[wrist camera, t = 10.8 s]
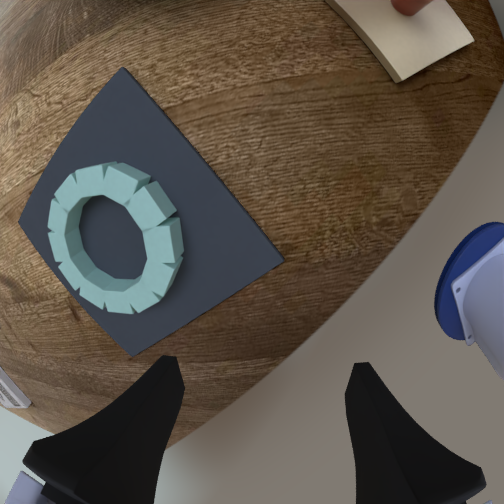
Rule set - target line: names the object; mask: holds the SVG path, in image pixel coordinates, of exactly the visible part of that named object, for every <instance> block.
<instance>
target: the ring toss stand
mask: <svg viewBox="0 0 504 504" xmlns="http://www.w3.org/2000/svg"><path fill="white" fill-rule="evenodd" d="M324 1H326V2H327V3H328V4H329V5H330V6H331V7H332V8H333V9H334V10H335V11H336V12H337V13H338V14H339V15H340V16H341V17H342V18H343V19H344V20H345V21H346V23H347V24H348V25H349V26H350V27H351V28H352V29H353V30H354V31H355V32H356V33H357V35H358V36H359V37H360V38H361V39H362V40H363V42H364V43H365V44H366V45H367V46H368V48H369V49H370V50H371V51H372V52H373V54H374V55H375V56H376V57H377V59H378V60H379V61H380V63H381V64H382V65H383V67H384V68H385V69H386V71H387V72H388V73H389V75H390V76H391V78H392V79H393V80H394V82H395V83H398V82H400V81H403V80H405V79H406V78H408V77H410V76H411V75H413V74H415V73H416V72H418V71H420V70H422V69H423V68H425V67H427V66H429V65H430V64H432V63H434V62H436V61H438V60H439V59H441V58H443V57H445V56H447V55H448V54H450V53H452V52H454V51H456V50H458V49H460V48H462V47H464V46H465V45H467V44H469V43H471V42H473V41H474V39H473V38H472V36H471V34H470V33H469V32H468V30H467V29H466V27H465V26H464V24H463V23H462V22H461V20H460V19H459V17H458V16H457V15H456V13H455V12H454V11H453V10H452V8H451V7H450V6H449V4H448V3H447V2H446V1H445V0H324Z"/></svg>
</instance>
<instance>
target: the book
mask: <svg viewBox="0 0 504 504" xmlns="http://www.w3.org/2000/svg"><path fill="white" fill-rule="evenodd" d="M0 403H1V404H2V405H3V406H4V407H5V408H28V407H29V405H30V404H31V401H30V400H29V399H28V398H27V397H26V396H25V394H24V393H23V392H22V391H21V390H20V389H19V388H18V387H17V386H16V385H15V383H14V382H13V381H12V380H11V379H10V378H9V376H8V375H7V374H6V373H5V372H4V370H3V369H2V368H1V367H0Z"/></svg>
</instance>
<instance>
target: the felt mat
mask: <svg viewBox="0 0 504 504" xmlns="http://www.w3.org/2000/svg"><path fill="white" fill-rule="evenodd" d="M115 161H116V162H117V164H118V163H125V164H128V165H130V166H132V167H134V168H136V169H138V170H140V171H142V172H144V173H146V174H148V175H150V176H151V178H150V180H149V183H148V184H150V183H152V182H154V181H157V182H158V183H159V185H160V186H161V188H162V189H163V191H164V192H165V194H166V195H167V197H168V198H169V199H170V201H171V202H172V204H173V205H174V207H175V208H176V210H177V211H176V212H175V213H173V214H172V215H171V216H169V217H168V218H174V217H179V218H180V225H181V232H182V240H183V247H184V252H183V253H182V254H181V256H182V257H183V260H182V262H181V265H180V267H179V269H178V272H177V274H176V276H175V279H174V281H173V283H172V285H171V286H170V288H169V289H168V291H167V292H166V294H165V296H164V297H162V298H161V300H160V301H159V302H157V303H156V304H154V305H152V306H150V307H148V308H147V309H145V310H143V311H141V312H140V313H138V312H137V311H135V312H134V314H126V313H116V312H108V311H107V308H106V307H105V308H104V309H103V310H102V309H101V308H99V307H97V306H96V305H94V304H93V303H91V302H90V301H88V300H86V299H85V298H83V297H82V296H80V295H79V294H80V287H79V288H78V289H77V290H74V288H73V287H72V286H71V284H70V283H69V282H68V280H67V279H66V278H65V276H64V275H63V273H62V272H61V270H60V269H59V268H58V267H59V265H60V264H61V263H62V262H56V261H55V258H54V255H53V251H52V247H51V244H50V240H49V236H48V233H49V232H51V231H52V230H51V229H49V228H48V220H49V213H50V207H51V201H52V199H54V198H56V197H55V195H54V194H55V192H56V191H57V190H58V189H59V187H60V186H61V185H62V184H63V182H64V181H65V180H66V179H67V177H68V176H69V175H70V174H71V173H75V171H76V170H78V169H82V168H86V167H90V166H94V165H99V164H105V163H110V162H115ZM18 223H19V224H20V226H21V228H22V229H23V231H24V232H25V234H26V235H27V237H28V238H29V240H30V241H31V243H32V244H33V245H34V247H35V248H36V250H37V251H38V252H39V254H40V255H41V257H42V258H43V259H44V261H45V262H46V263H47V265H48V266H49V267H50V269H51V270H52V271H53V272H54V274H55V275H56V276H57V278H58V279H59V280H60V281H61V283H62V284H63V285H64V286H65V287H66V289H67V290H68V291H69V292H70V293H71V295H72V296H73V297H74V298H75V299H76V300H77V301H78V303H79V304H80V305H81V306H82V307H83V308H84V309H85V310H86V311H87V313H88V314H89V315H90V316H91V317H92V318H93V319H94V320H95V321H96V322H97V323H98V324H99V325H100V326H101V327H102V328H103V329H104V330H105V331H106V332H107V333H108V334H109V335H110V336H111V337H112V338H113V339H114V340H115V341H116V342H117V343H118V344H119V345H120V346H121V347H122V348H123V349H124V350H125V351H126V352H127V353H128V354H129V355H130V356H132V357H133V356H135V355H137V354H138V353H140V352H142V351H143V350H145V349H146V348H148V347H150V346H151V345H153V344H155V343H156V342H158V341H160V340H161V339H163V338H164V337H166V336H168V335H169V334H171V333H173V332H174V331H176V330H177V329H179V328H181V327H182V326H184V325H185V324H187V323H189V322H190V321H192V320H193V319H195V318H197V317H198V316H200V315H201V314H203V313H205V312H206V311H208V310H209V309H211V308H213V307H214V306H216V305H217V304H219V303H220V302H222V301H224V300H225V299H227V298H228V297H230V296H231V295H233V294H234V293H236V292H238V291H239V290H241V289H242V288H244V287H245V286H247V285H248V284H250V283H251V282H253V281H254V280H256V279H258V278H259V277H261V276H262V275H264V274H265V273H267V272H268V271H270V270H271V269H273V268H274V267H276V266H277V265H279V264H280V263H282V262H283V261H284V257H283V256H282V255H281V254H280V252H279V251H278V250H277V249H276V247H275V246H274V245H273V244H272V242H271V241H270V240H269V239H268V237H267V236H266V235H265V234H264V232H263V231H262V230H261V229H260V227H259V226H258V225H257V224H256V222H255V221H254V220H253V219H252V217H251V216H250V215H249V214H248V212H247V211H246V210H245V209H244V208H243V206H242V205H241V204H240V203H239V201H238V200H237V199H236V198H235V197H234V195H233V194H232V193H231V192H230V190H229V189H228V188H227V187H226V186H225V184H224V183H223V182H222V181H221V179H220V178H219V177H218V176H217V175H216V173H215V172H214V171H213V170H212V169H211V167H210V166H209V165H208V164H207V163H206V161H205V160H204V159H203V158H202V157H201V155H200V154H199V153H198V152H197V151H196V149H195V148H194V147H193V146H192V145H191V144H190V142H189V141H188V140H187V139H186V138H185V136H184V135H183V134H182V133H181V132H180V131H179V129H178V128H177V127H176V126H175V125H174V123H173V122H172V121H171V120H170V119H169V118H168V116H167V115H166V114H165V113H164V112H163V111H162V109H161V108H160V107H159V106H158V105H157V104H156V103H155V101H154V100H153V99H152V98H151V97H150V96H149V94H148V93H147V92H146V91H145V90H144V89H143V88H142V86H141V85H140V84H139V83H138V82H137V81H136V80H135V78H134V77H133V76H132V75H131V74H130V73H129V72H128V71H127V69H126V68H124V67H121V68H120V70H119V71H118V72H117V73H116V74H115V75H114V76H113V77H112V78H111V79H110V80H109V81H108V83H107V84H106V85H105V86H104V87H103V88H102V89H101V91H100V92H99V93H98V94H97V95H96V97H95V98H94V99H93V100H92V102H91V103H90V104H89V105H88V107H87V108H86V109H85V110H84V112H83V113H82V114H81V116H80V117H79V118H78V120H77V121H76V122H75V124H74V125H73V127H72V128H71V129H70V131H69V132H68V134H67V135H66V137H65V138H64V140H63V141H62V143H61V144H60V146H59V147H58V149H57V150H56V152H55V153H54V155H53V157H52V158H51V160H50V161H49V163H48V165H47V167H46V168H45V170H44V172H43V173H42V175H41V177H40V179H39V181H38V182H37V184H36V186H35V188H34V190H33V192H32V194H31V196H30V198H29V200H28V202H27V204H26V206H25V208H24V210H23V212H22V214H21V217H20V219H19V221H18ZM79 231H80V235H81V240H82V244H83V248H84V250H85V252H86V253H87V255H88V256H89V257H90V259H91V260H92V262H93V263H94V264H95V266H96V267H97V268H98V269H100V270H102V271H103V272H105V273H107V274H108V275H110V276H112V277H113V278H115V279H136V278H138V277H139V276H141V275H142V273H143V270H144V267H145V264H146V262H147V254H146V249H145V244H144V238H143V232H142V230H141V229H140V228H139V226H138V225H137V223H136V222H135V220H134V219H133V217H132V216H131V215H130V213H129V212H128V210H127V209H126V207H125V206H123V205H121V204H119V203H118V202H116V201H114V200H112V199H110V198H108V197H106V196H105V195H98V196H92V197H91V198H90V199H89V200H88V201H87V202H86V203H85V204H84V205H83V208H82V213H81V217H80V222H79Z"/></svg>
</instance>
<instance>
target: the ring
mask: <svg viewBox="0 0 504 504" xmlns="http://www.w3.org/2000/svg"><path fill="white" fill-rule="evenodd" d="M150 178H151V176H150V175H148V174H146V173H144V172H142V171H140V170H138V169H136V168H134V167H132V166H130V165H128V164H125V163H118V164H117V162H116V161H115V162H110V163H105V164H99V165H94V166H90V167H86V168H82V169H78V170H76V171H75V173H71V174H70V175H69V176H68V177H67V179H66V180H65V181H64V182H63V184H62V185H61V186H60V187H59V189H58V190H57V191H56V192H55V194H54V195H55V197H56V198H54V199H52V201H51V207H50V213H49V220H48V228H49V229H51V230H52V231H51V232H49V233H48V236H49V240H50V244H51V247H52V251H53V255H54V258H55V261H56V262H62V263H61V264H60V265H59V267H58V268H59V269H60V270H61V272H62V273H63V275H64V276H65V278H66V279H67V280H68V282H69V283H70V284H71V286H72V287H73V288H74V290H77V289H78V288H79V287H80V294H79V295H80V296H82V297H83V298H85V299H86V300H88V301H90V302H91V303H93V304H94V305H96V306H97V307H99V308H101V309H102V310H103V309H104V308H105V307H106V308H107V311H108V312H116V313H126V314H134V312H135V311H137V312H138V313H140V312H141V311H143V310H145V309H147V308H148V307H150V306H152V305H154V304H156V303H157V302H159V301H160V300H161V298H162V297H164V296H165V294H166V292H167V291H168V289H169V288H170V286H171V285H172V283H173V281H174V279H175V276H176V274H177V272H178V269H179V267H180V265H181V262H182V260H183V257H182V256H181V254H182V253H183V252H184V247H183V240H182V232H181V225H180V218H179V217H174V218H168V217H169V216H171V215H172V214H173V213H175V212H176V211H177V210H176V208H175V207H174V205H173V204H172V202H171V201H170V199H169V198H168V197H167V195H166V194H165V192H164V191H163V189H162V188H161V186H160V185H159V183H158V182H157V181H154V182H152V183H150V184H148V183H149V180H150ZM98 195H105V196H106V197H108V198H110V199H112V200H114V201H116V202H118V203H119V204H121V205H123V206H125V207H126V209H127V210H128V212H129V213H130V215H131V216H132V217H133V219H134V220H135V222H136V223H137V225H138V226H139V228H140V229H141V230H142V232H143V238H144V244H145V249H146V254H147V262H146V264H145V267H144V270H143V273H142V275H141V276H139V277H138V278H136V279H115V278H113V277H112V276H110V275H108V274H107V273H105V272H103V271H102V270H100V269H98V268H97V267H96V266H95V264H94V263H93V262H92V260H91V259H90V257H89V256H88V255H87V253H86V252H85V250H84V248H83V244H82V240H81V235H80V231H79V222H80V217H81V213H82V208H83V205H84V204H85V203H86V202H87V201H88V200H89V199H90V198H91V197H92V196H98Z"/></svg>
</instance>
